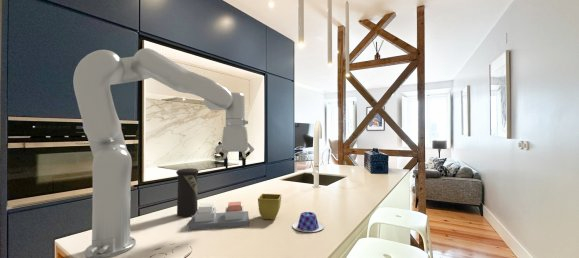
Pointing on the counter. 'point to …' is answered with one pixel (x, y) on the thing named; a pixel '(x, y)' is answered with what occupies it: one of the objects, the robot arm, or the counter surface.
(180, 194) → the container
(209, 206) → the white key
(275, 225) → the counter surface
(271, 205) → the flower pot
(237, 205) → the brick key
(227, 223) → the push button panel
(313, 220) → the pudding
